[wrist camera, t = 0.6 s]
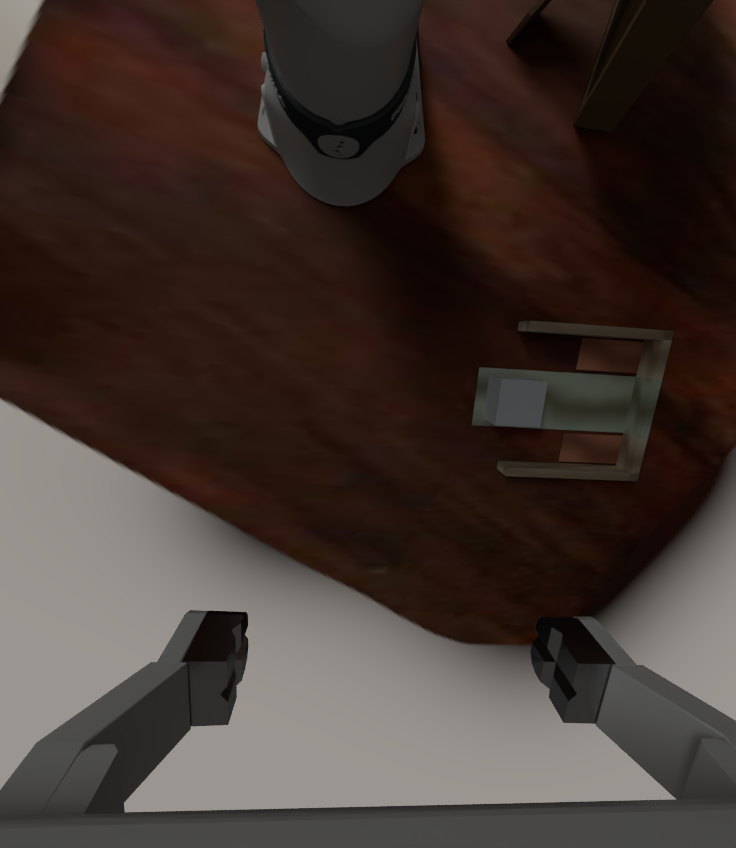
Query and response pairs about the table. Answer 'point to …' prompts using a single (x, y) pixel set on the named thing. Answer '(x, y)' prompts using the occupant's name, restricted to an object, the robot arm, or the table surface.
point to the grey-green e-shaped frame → (593, 401)
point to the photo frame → (628, 54)
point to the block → (515, 401)
